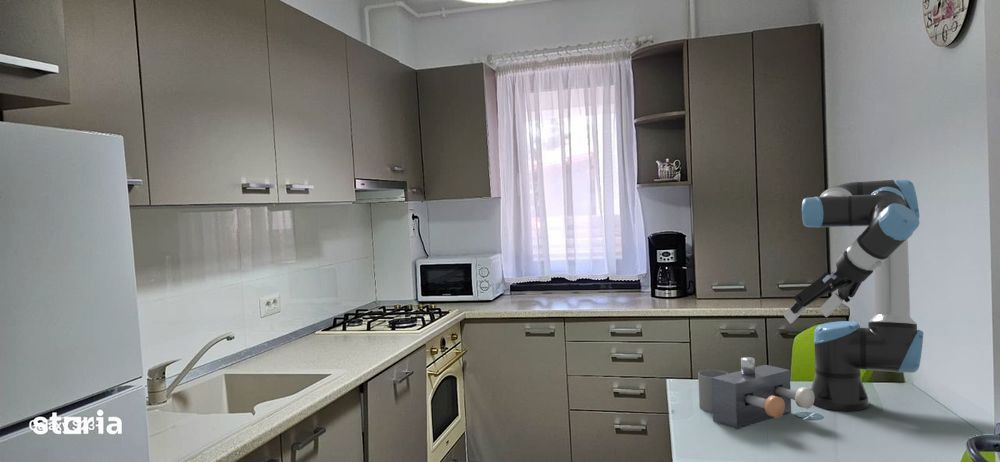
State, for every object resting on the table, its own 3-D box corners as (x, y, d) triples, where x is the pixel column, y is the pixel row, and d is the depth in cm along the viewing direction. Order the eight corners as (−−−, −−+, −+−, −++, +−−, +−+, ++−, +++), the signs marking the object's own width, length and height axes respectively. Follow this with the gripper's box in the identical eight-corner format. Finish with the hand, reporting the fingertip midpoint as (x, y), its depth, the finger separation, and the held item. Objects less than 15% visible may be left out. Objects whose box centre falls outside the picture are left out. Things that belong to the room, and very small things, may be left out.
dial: (753, 371, 181) (753, 357, 181) (756, 374, 178) (755, 360, 178) (740, 371, 182) (739, 357, 182) (742, 374, 178) (742, 360, 178)
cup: (731, 412, 184) (730, 377, 184) (701, 412, 186) (699, 377, 185) (727, 403, 192) (726, 369, 192) (698, 403, 194) (697, 369, 193)
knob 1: (785, 415, 166) (784, 395, 166) (771, 419, 164) (771, 399, 163) (753, 406, 175) (752, 387, 175) (740, 410, 172) (739, 390, 172)
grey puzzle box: (791, 412, 181) (789, 370, 181) (736, 429, 170) (735, 383, 170) (766, 405, 188) (765, 364, 188) (713, 421, 177) (711, 377, 177)
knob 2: (814, 406, 172) (814, 387, 172) (802, 410, 170) (801, 390, 169) (782, 398, 181) (782, 379, 180) (770, 401, 178) (769, 382, 178)
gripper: (836, 277, 144) (781, 334, 158) (903, 267, 156) (846, 321, 170) (814, 252, 149) (762, 310, 163) (881, 245, 160) (827, 299, 174)
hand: (805, 316), depth 166 cm, fingers open, 13 cm apart
